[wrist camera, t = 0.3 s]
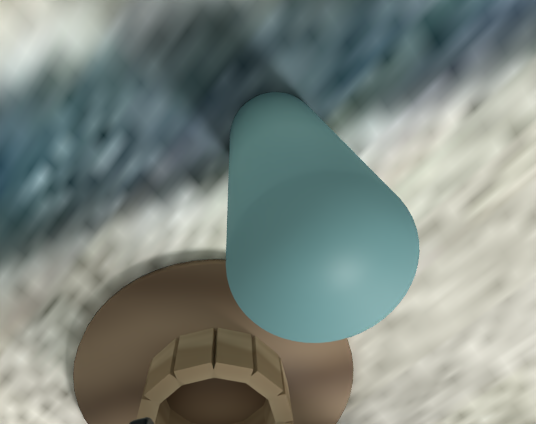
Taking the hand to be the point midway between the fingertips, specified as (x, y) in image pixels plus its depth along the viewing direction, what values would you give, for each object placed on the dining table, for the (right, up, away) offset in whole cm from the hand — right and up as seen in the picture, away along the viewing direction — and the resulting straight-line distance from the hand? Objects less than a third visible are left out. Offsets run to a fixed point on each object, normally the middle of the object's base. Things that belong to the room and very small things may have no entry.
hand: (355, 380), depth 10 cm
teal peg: (-2, +7, +13) cm, 15 cm away
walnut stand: (-5, -7, +18) cm, 20 cm away
